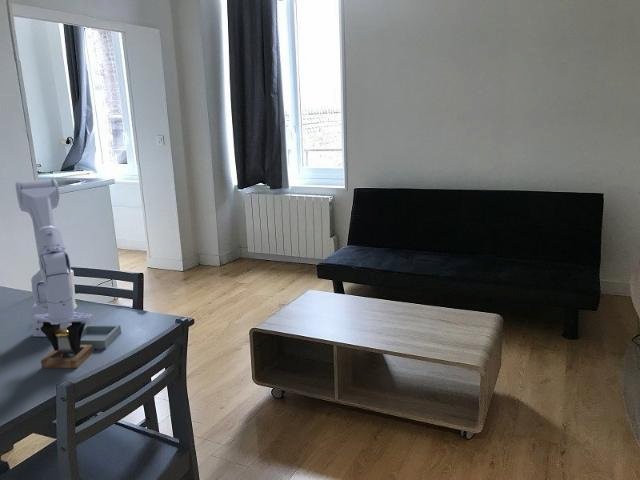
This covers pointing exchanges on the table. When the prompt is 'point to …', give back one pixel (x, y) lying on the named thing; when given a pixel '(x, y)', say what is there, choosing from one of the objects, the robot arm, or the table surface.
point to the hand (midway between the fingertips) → (67, 349)
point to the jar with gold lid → (64, 343)
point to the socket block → (56, 362)
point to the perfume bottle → (72, 286)
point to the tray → (100, 335)
